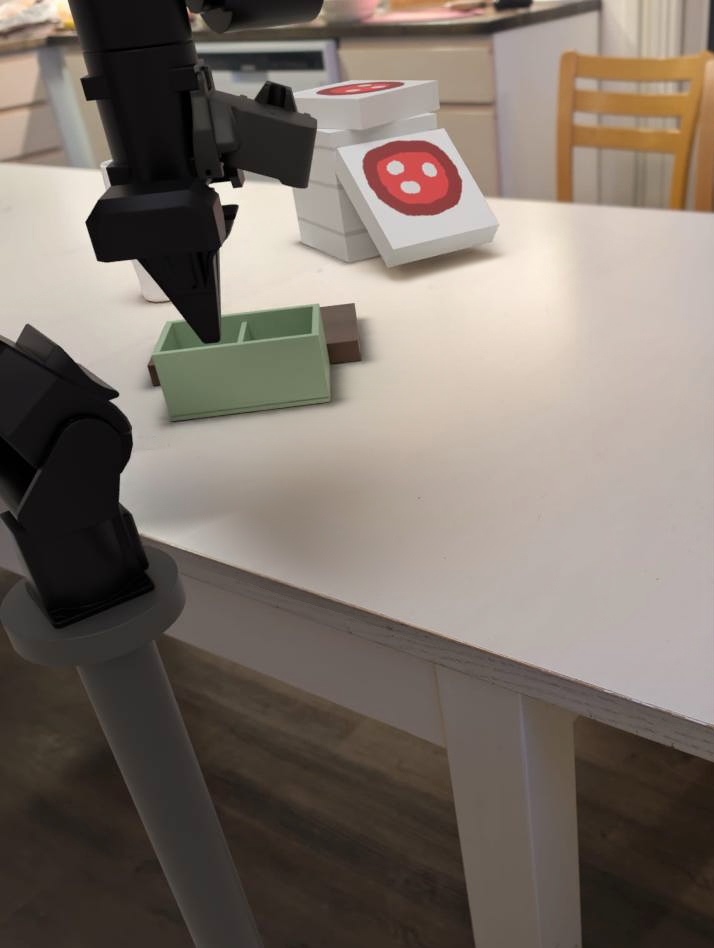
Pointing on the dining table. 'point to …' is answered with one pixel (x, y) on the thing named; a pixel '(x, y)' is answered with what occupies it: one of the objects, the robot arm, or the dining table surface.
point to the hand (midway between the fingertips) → (212, 341)
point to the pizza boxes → (386, 176)
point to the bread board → (337, 335)
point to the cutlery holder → (245, 364)
